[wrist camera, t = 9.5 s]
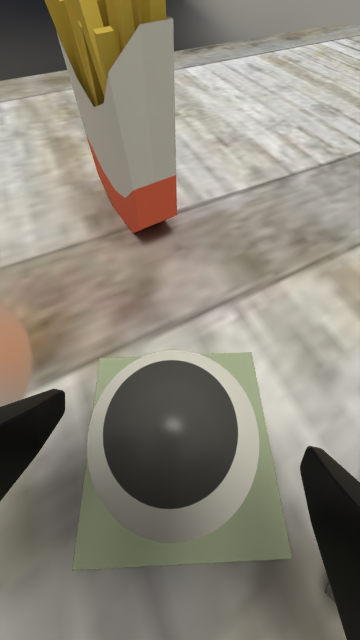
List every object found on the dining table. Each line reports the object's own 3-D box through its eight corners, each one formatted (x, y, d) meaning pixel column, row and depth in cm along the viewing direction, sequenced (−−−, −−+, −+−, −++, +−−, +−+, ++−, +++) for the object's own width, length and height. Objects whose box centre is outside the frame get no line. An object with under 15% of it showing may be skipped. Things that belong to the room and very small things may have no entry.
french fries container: (140, 249, 25) (69, -97, 9) (101, 195, 29) (7, -100, 13) (177, 233, 26) (172, -100, 10) (134, 184, 30) (83, -102, 15)
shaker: (244, 460, 15) (442, 499, 4) (159, 523, 14) (44, 926, 2) (193, 377, 18) (214, 249, 6) (116, 423, 16) (-39, 365, 5)
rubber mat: (287, 554, 13) (292, 558, 13) (76, 565, 13) (72, 570, 13) (249, 354, 19) (251, 352, 19) (102, 360, 19) (99, 358, 18)
